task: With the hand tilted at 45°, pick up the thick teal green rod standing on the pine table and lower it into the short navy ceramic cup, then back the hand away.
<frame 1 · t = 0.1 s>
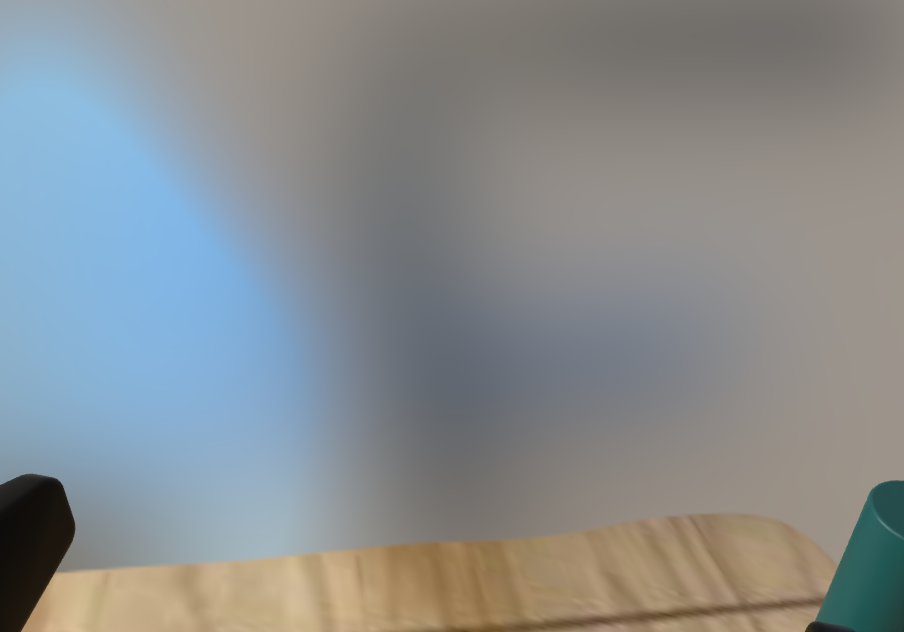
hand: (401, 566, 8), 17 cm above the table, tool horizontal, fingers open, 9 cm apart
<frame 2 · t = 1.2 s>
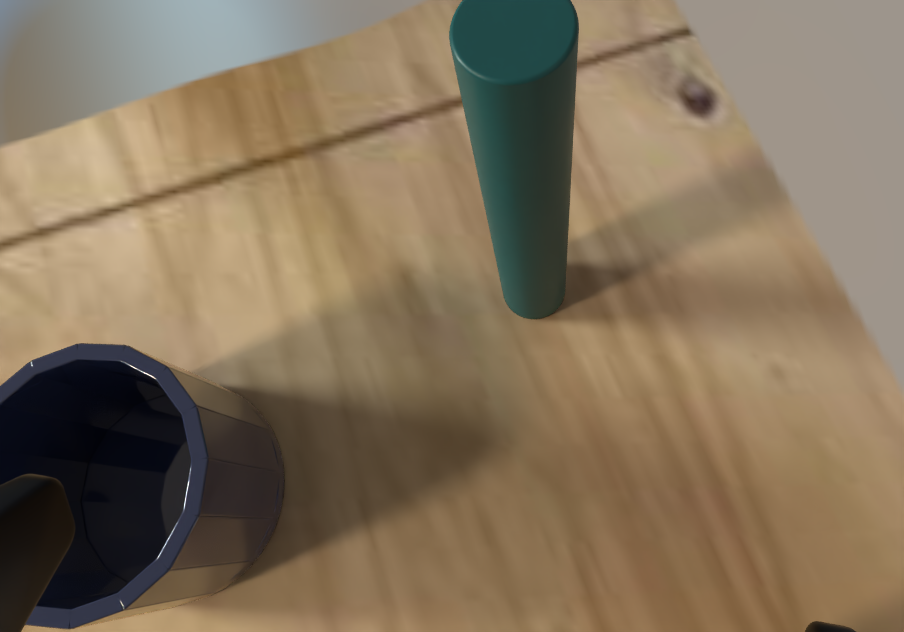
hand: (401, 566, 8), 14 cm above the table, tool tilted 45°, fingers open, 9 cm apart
cup: (182, 488, 23), on the table
teal green rod: (534, 290, 23), on the table
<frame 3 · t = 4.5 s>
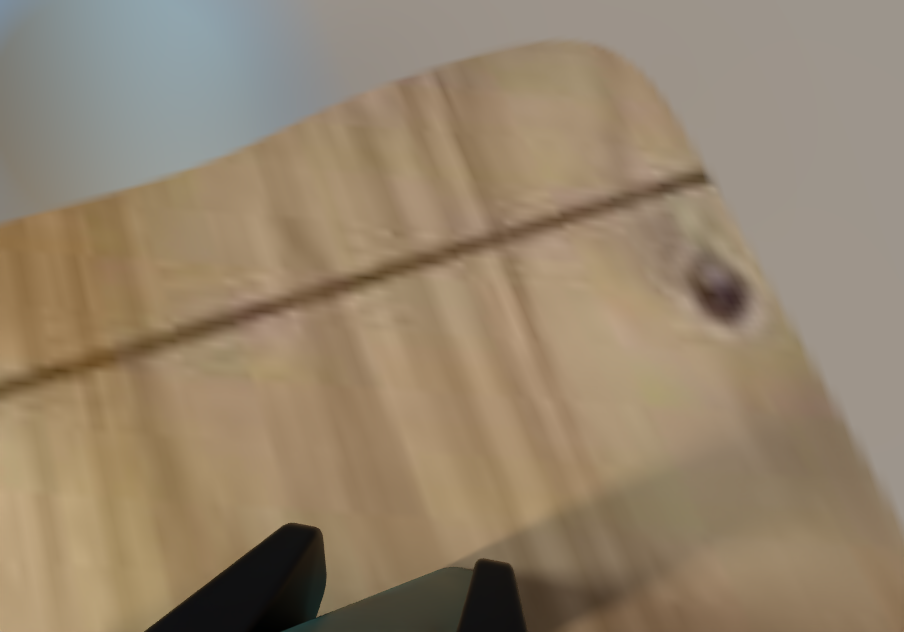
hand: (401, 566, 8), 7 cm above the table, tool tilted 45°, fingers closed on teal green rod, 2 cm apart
teal green rod: (455, 619, 14), on the table, touching gripper
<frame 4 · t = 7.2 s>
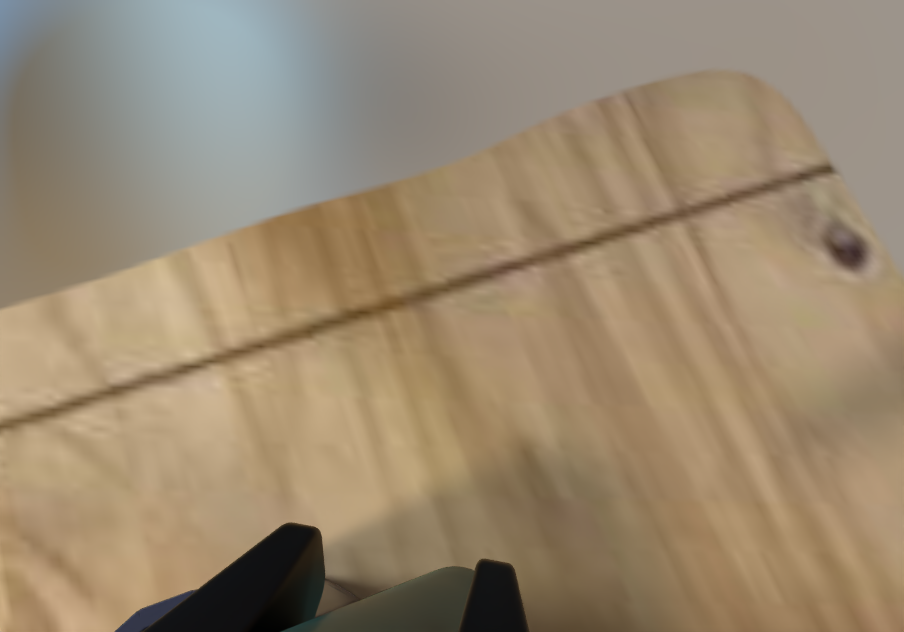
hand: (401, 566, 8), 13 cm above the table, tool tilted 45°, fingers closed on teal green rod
teal green rod: (455, 618, 14), point 7 cm above the table, touching gripper
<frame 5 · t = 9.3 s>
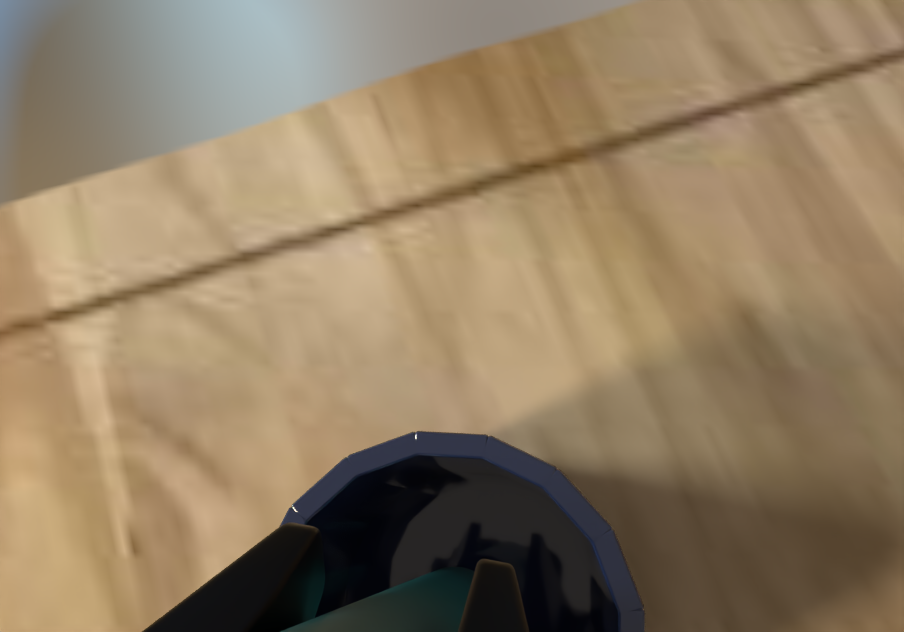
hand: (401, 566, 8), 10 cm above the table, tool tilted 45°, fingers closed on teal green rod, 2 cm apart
cup: (473, 601, 18), on the table
teal green rod: (455, 619, 14), point 3 cm above the table, touching gripper
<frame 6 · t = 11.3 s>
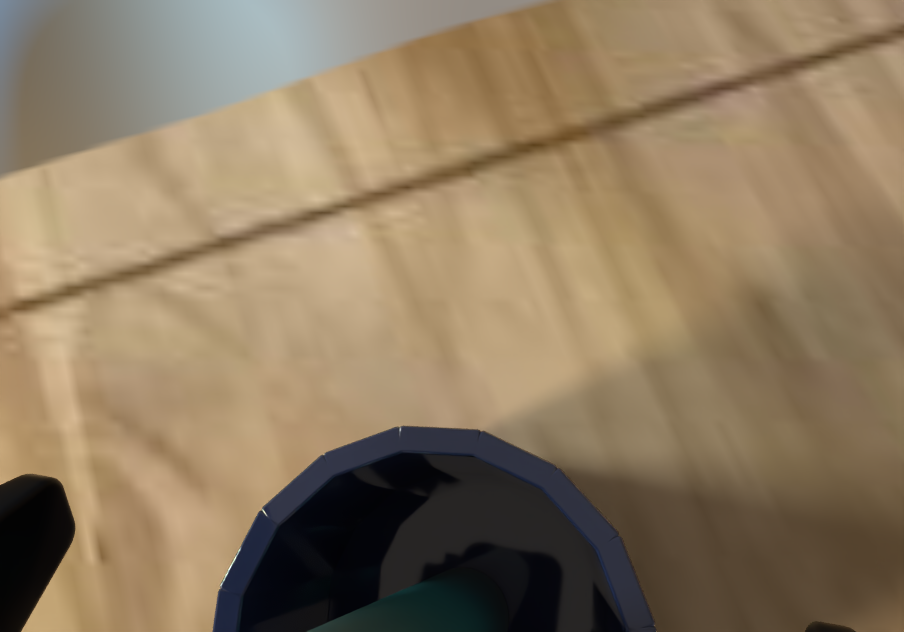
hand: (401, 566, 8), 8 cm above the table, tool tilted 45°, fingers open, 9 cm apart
cup: (466, 612, 16), on the table, touching teal green rod
teal green rod: (463, 616, 16), point 1 cm above the table, touching cup
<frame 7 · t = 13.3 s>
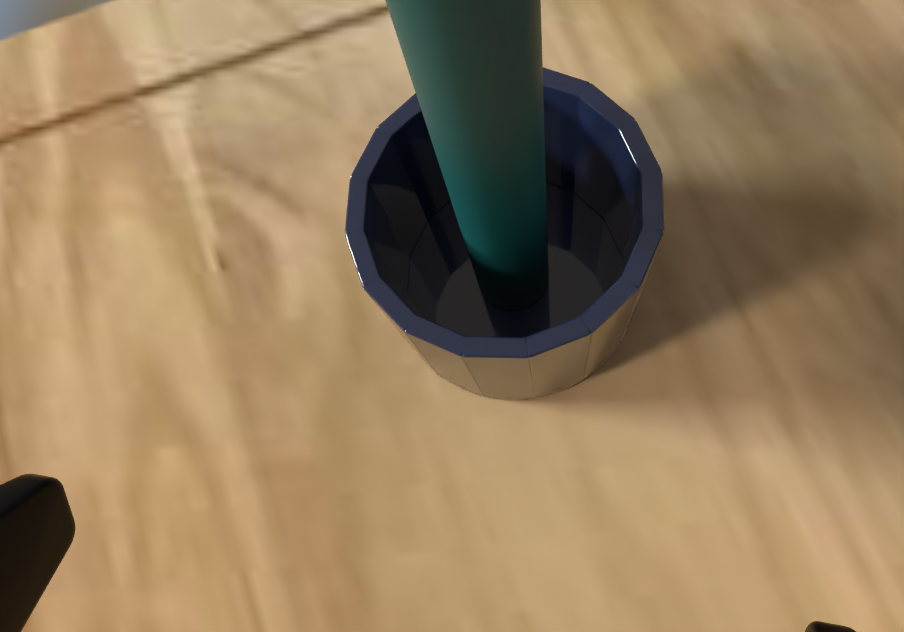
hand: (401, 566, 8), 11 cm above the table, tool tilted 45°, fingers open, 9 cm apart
cup: (514, 282, 21), on the table, touching teal green rod
teal green rod: (513, 276, 20), point 1 cm above the table, touching cup
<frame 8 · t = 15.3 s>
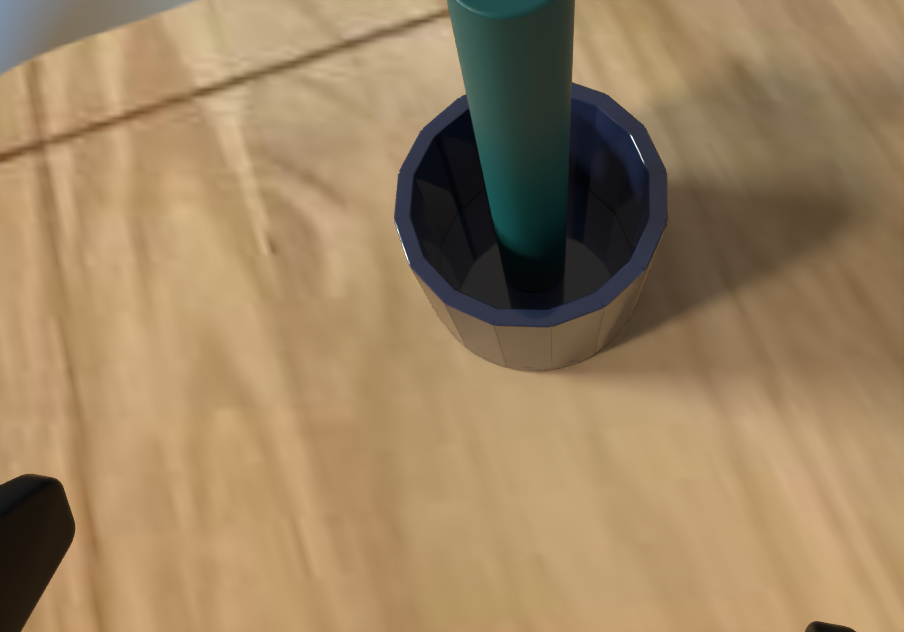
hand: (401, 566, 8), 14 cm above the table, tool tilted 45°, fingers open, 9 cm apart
cup: (534, 268, 24), on the table, touching teal green rod
teal green rod: (533, 262, 23), point 1 cm above the table, touching cup
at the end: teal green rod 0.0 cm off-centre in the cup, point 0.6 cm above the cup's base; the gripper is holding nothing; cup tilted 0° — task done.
